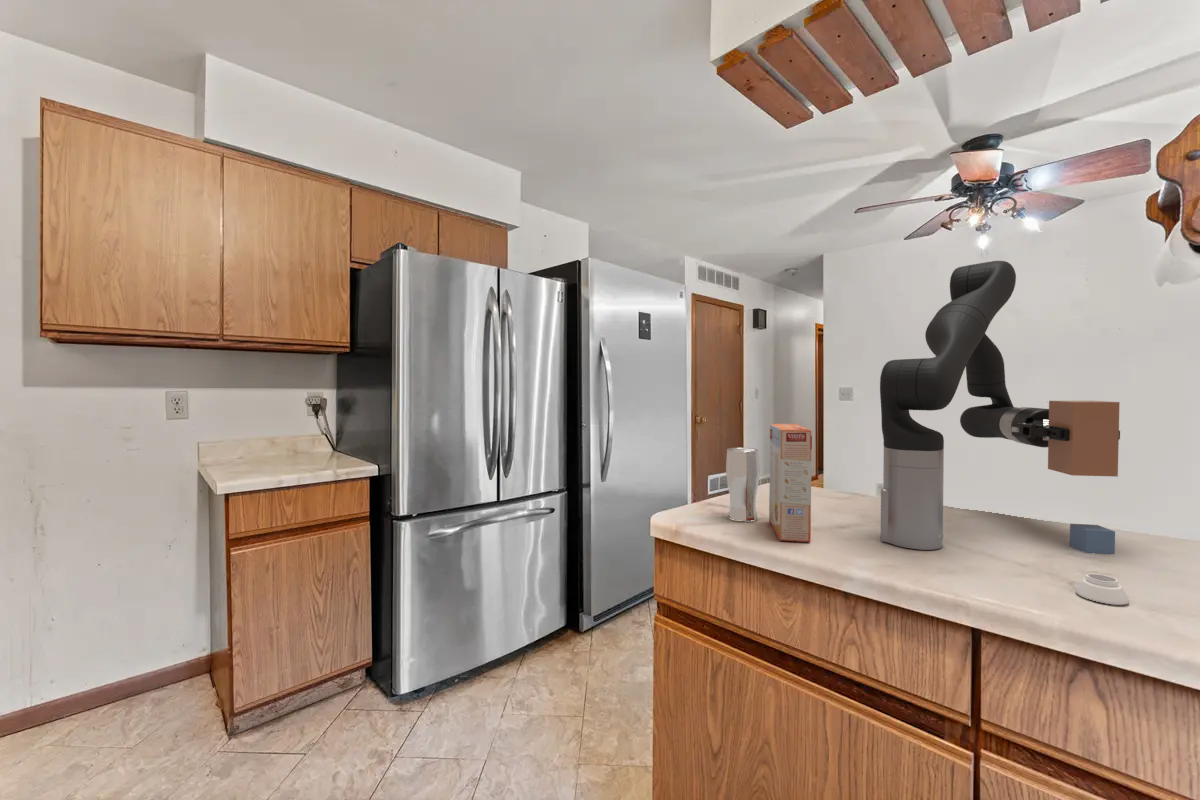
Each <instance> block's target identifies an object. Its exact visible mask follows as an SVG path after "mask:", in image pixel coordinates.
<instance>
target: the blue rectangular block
mask: <svg viewBox="0 0 1200 800" xmlns="http://www.w3.org/2000/svg"><path fill="white" fill-rule="evenodd" d="M1069 547H1072V548H1074V549H1076V550H1078V551H1080V552H1082V551H1083V553H1085V554H1092V553H1095V555H1111V554H1115V553H1116V551H1115V550H1116V549H1115V548H1116V531H1115V530H1112V529H1109V528H1107V527H1105V526H1101V525H1098V524H1089V523H1087V524H1085V523H1083V524H1081V523H1069ZM1115 555H1116V554H1115Z"/></svg>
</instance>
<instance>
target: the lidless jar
mask: <svg viewBox="0 0 1200 800" xmlns="http://www.w3.org/2000/svg"><path fill="white" fill-rule="evenodd" d="M1075 594H1077V595H1078V596H1080V597H1082V598H1084V599H1086V600H1088V599H1089V601H1091V600H1092V601H1091V602H1094V601H1096V602H1095V603H1098V602H1100V603H1099V604H1102V603H1105V604H1104V605H1108V604H1111V605H1110V606H1123V605H1127V604H1129V603H1130V599H1129V596H1128V595H1127V593H1126V591H1125V590H1124V588H1123V586H1122V585H1120V584H1119V580H1118V579H1117V578H1115V577H1113V576H1109V575H1105V574H1099V573H1087V574H1085V577H1084V578H1083V579H1081V581H1080V582H1079V583H1078V584H1077V586H1076V587H1075Z"/></svg>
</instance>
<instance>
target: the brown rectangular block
mask: <svg viewBox="0 0 1200 800" xmlns="http://www.w3.org/2000/svg"><path fill="white" fill-rule="evenodd" d="M1048 409H1049V425H1052V426H1056V427H1063V428H1068V429H1069V431H1070V434H1069V441H1061V440H1055V439H1050V440H1048V447H1047V448H1048V449H1047V470H1051V471H1054V472H1057V473H1062V474H1065V475H1070V476H1074V477H1075V476H1077V477H1078V476H1082V477H1084V476H1085V477H1087V476H1088V477H1091V476H1092V477H1116V478H1117V477H1119V442H1120V441H1119V440H1120V439H1119V431H1120V401H1105V400H1103V401H1102V400H1049V402H1048Z"/></svg>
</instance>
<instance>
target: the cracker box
mask: <svg viewBox="0 0 1200 800" xmlns="http://www.w3.org/2000/svg"><path fill="white" fill-rule="evenodd" d="M812 444H813V430H812V429H810V428H808V427H805V426H802V425H799V424H798V423H797V424H796V423H771V424H769V500H768V501H769V506H768V507H769V508H768V510H769V511H768V513H769V514H768V521H770V522H769V523H770V526H771V527H772V530H773V531H774V534H776V537H777V539H778V540H779V541H781V542H782V541H783V542H794V541H796V542H798V543H811V535H812V534H811V530H812V529H811V528H812V526H811V525H812V521H811V520H812V460H813V459H812V456H813V455H812V454H813V453H812V452H813V451H812V448H813V445H812Z"/></svg>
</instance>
